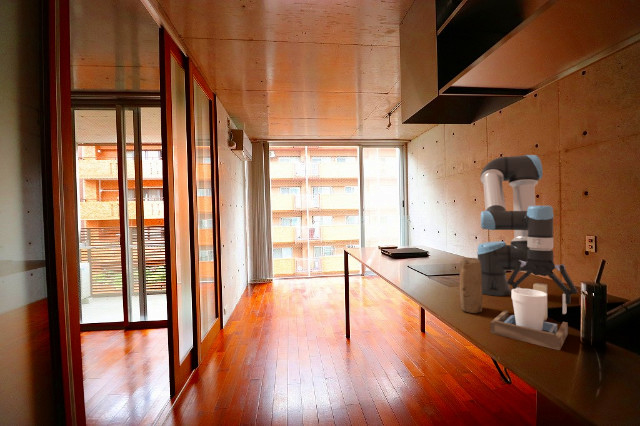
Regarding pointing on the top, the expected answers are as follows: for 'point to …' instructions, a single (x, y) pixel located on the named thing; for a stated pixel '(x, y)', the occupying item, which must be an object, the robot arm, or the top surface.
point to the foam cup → (529, 307)
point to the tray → (546, 325)
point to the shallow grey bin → (528, 332)
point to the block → (470, 285)
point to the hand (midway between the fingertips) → (540, 308)
